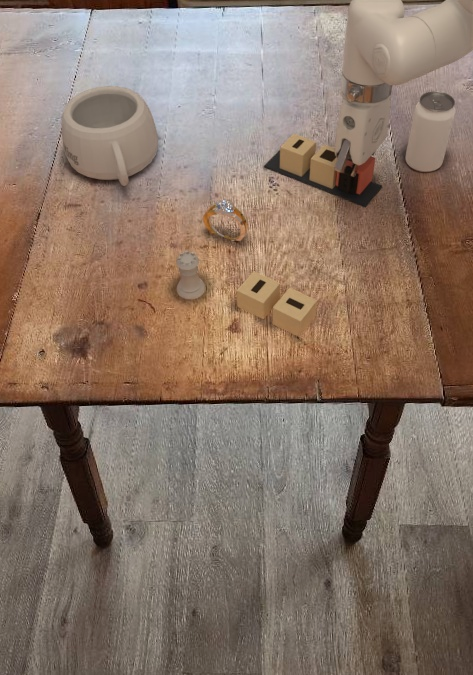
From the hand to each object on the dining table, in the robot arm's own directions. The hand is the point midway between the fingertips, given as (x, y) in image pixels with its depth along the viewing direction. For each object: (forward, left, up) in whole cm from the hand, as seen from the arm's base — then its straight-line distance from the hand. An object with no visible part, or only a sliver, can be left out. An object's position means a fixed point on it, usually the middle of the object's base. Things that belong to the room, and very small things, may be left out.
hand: (354, 181), depth 114 cm
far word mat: (+6, 0, -2) cm, 6 cm away
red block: (0, 0, 0) cm, 0 cm away
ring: (+11, +22, -2) cm, 25 cm away
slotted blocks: (-6, +31, -2) cm, 31 cm away
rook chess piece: (+9, +34, -2) cm, 35 cm away
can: (-7, -13, -2) cm, 15 cm away
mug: (+39, +16, -2) cm, 42 cm away
